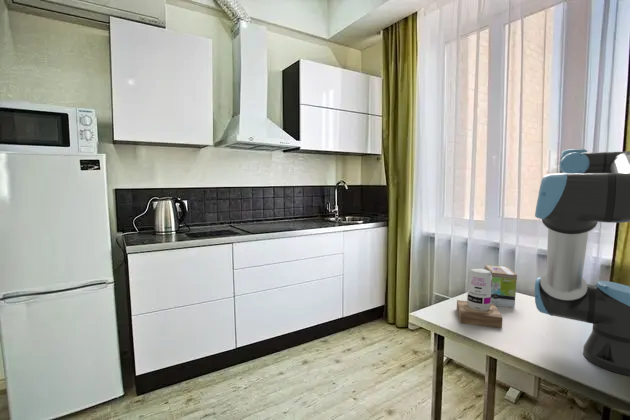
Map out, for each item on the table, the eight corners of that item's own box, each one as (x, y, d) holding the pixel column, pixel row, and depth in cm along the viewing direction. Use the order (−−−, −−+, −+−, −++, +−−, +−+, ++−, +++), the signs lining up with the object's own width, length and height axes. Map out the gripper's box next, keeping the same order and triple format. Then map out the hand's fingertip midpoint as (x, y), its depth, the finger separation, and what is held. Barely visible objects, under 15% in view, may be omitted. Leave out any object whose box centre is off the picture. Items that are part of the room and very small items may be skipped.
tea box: (515, 308, 139) (517, 274, 138) (489, 305, 142) (491, 272, 141) (505, 296, 154) (507, 265, 153) (482, 294, 157) (483, 264, 155)
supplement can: (484, 304, 132) (486, 268, 131) (493, 312, 124) (496, 273, 123) (463, 303, 133) (465, 267, 132) (471, 311, 125) (473, 273, 124)
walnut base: (501, 328, 120) (502, 317, 120) (460, 322, 124) (461, 312, 124) (493, 313, 133) (494, 303, 133) (456, 309, 138) (457, 299, 137)
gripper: (576, 192, 128) (572, 245, 130) (540, 192, 116) (536, 251, 118) (600, 192, 121) (595, 249, 123) (564, 193, 110) (560, 255, 111)
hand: (566, 250), depth 121 cm, fingers open, 13 cm apart
